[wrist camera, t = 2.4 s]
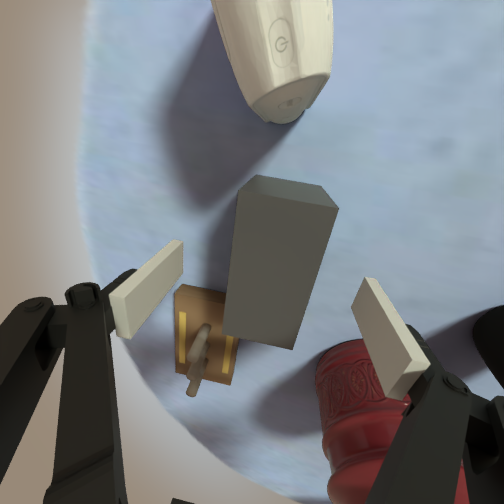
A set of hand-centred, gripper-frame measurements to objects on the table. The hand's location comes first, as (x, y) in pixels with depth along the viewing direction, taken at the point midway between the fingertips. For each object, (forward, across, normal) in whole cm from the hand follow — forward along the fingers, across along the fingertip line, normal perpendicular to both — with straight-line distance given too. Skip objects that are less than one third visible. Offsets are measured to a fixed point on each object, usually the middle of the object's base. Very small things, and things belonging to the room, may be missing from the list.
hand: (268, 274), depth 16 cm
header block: (+7, +6, +15) cm, 18 cm away
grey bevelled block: (+7, 0, 0) cm, 7 cm away
